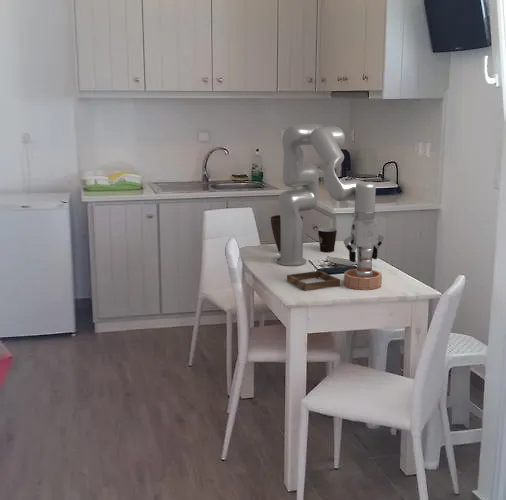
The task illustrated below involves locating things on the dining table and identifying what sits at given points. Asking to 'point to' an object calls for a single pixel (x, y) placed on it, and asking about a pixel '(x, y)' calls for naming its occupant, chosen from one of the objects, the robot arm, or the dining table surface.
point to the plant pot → (277, 230)
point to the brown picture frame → (329, 282)
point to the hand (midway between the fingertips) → (363, 260)
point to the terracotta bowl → (362, 280)
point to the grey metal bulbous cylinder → (364, 261)
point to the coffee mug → (327, 239)
